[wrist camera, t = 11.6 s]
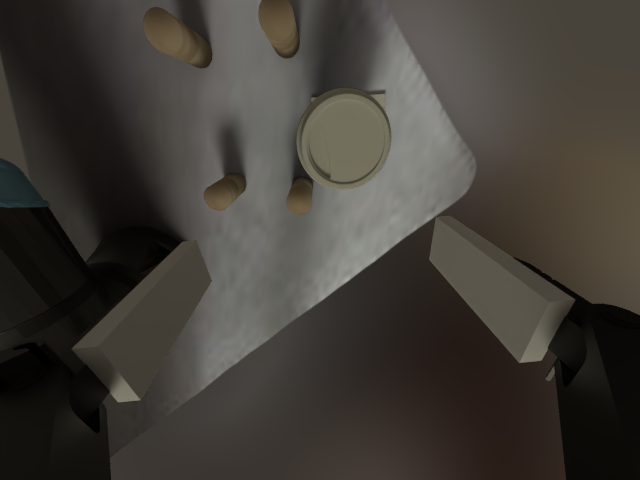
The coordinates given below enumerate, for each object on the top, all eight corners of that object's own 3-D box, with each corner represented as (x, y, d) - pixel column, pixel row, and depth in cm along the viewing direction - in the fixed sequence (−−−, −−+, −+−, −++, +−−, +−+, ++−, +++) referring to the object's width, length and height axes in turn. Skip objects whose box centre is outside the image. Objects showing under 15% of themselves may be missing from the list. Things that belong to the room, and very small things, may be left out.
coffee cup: (315, 85, 27) (315, 63, 17) (379, 114, 29) (416, 111, 18) (294, 156, 31) (282, 175, 20) (351, 179, 33) (368, 207, 22)
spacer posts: (222, 201, 34) (201, 219, 28) (179, 29, 25) (134, 0, 19) (313, 196, 34) (312, 214, 28) (302, 22, 25) (298, -10, 19)
